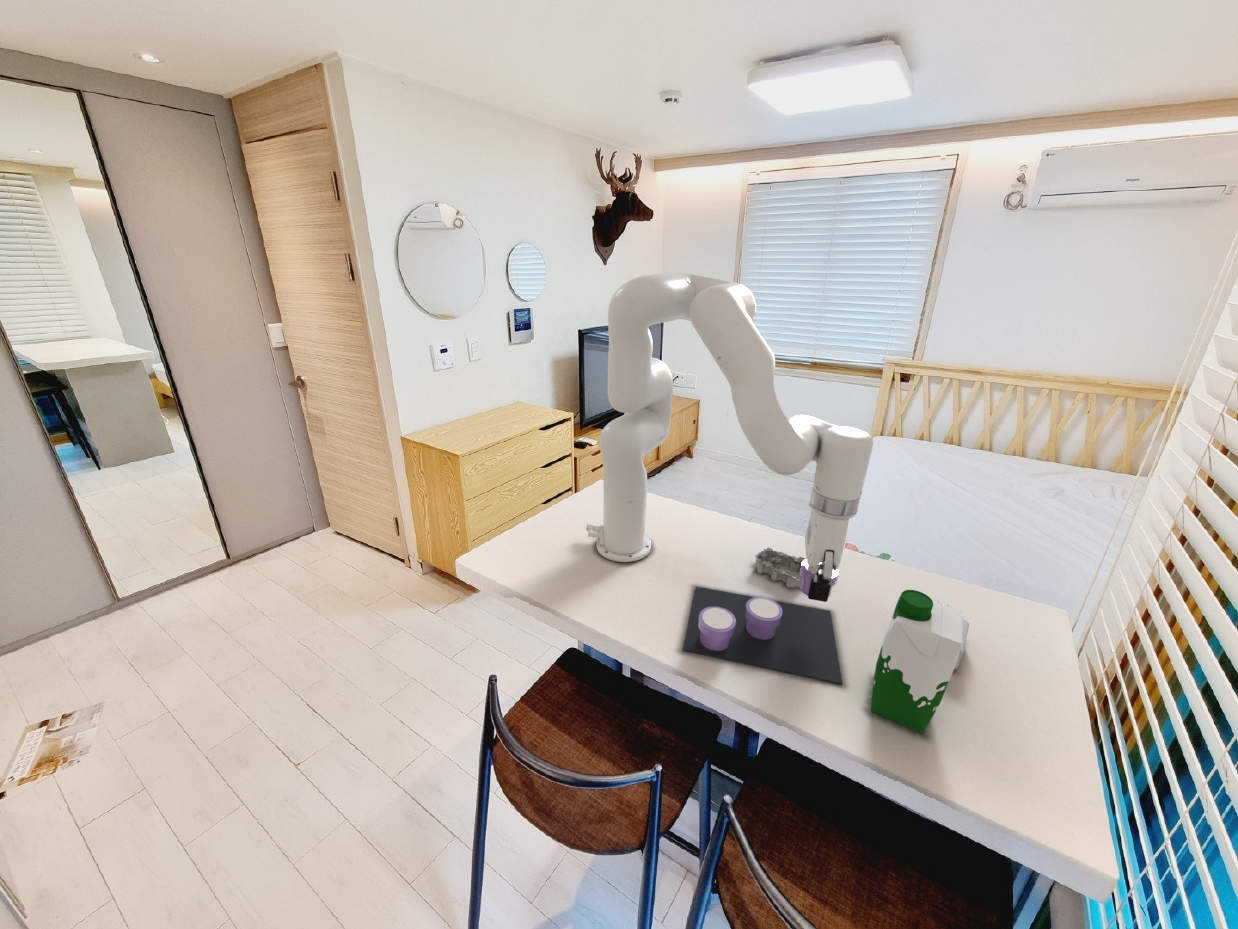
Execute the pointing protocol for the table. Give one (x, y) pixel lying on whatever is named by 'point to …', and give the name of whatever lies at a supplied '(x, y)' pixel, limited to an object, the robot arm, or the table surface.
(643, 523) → the robot arm
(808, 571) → the dish right
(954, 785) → the table surface
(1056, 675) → the table surface
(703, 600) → the placemat
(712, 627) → the purple short cylinder
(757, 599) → the dish middle
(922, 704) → the milk carton
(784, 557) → the egg carton
